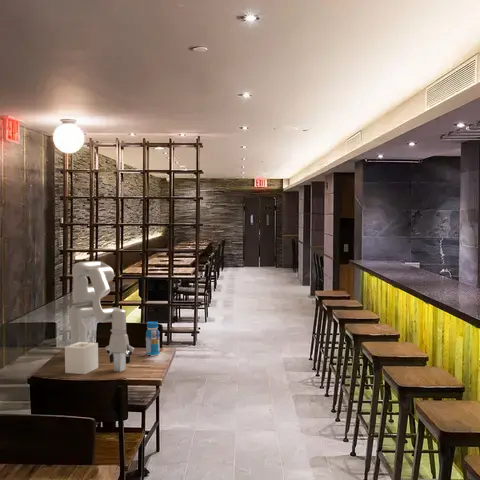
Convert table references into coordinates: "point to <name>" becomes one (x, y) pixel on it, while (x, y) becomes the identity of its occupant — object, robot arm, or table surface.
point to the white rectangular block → (119, 362)
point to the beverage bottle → (152, 339)
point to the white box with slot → (81, 357)
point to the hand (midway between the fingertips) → (119, 362)
